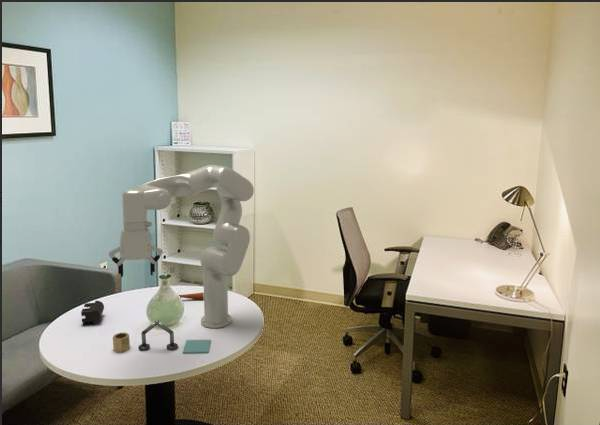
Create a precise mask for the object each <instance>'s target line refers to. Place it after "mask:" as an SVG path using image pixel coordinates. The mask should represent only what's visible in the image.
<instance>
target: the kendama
mask: <svg viewBox="0 0 600 425" xmlns="http://www.w3.org/2000/svg"><path fill="white" fill-rule="evenodd" d="M179 296H180V298H183V299H193V300H203V301H204V292H197V293H196V292H195V293H188V294H179Z"/></svg>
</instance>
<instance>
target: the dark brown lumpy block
mask: <svg viewBox="0 0 600 425" xmlns="http://www.w3.org/2000/svg"><path fill="white" fill-rule="evenodd" d="M83 307H84V308H82V310H81V311H80V312H81V313H80V315H81V317H85V318H81V322H82V326H83V327H87V326H89V327H90V326H95V325H96V324H98V323H99V322H100V320H101V318H102V315H103V312H104V310H105V305H104V303H103V302H102V301H100V300H95V301H94V302H87V303H86V302H85V303H84V305H83Z"/></svg>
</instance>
